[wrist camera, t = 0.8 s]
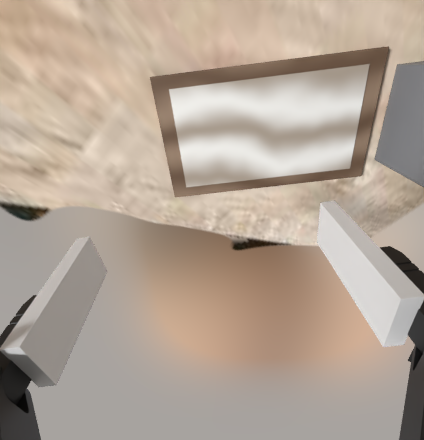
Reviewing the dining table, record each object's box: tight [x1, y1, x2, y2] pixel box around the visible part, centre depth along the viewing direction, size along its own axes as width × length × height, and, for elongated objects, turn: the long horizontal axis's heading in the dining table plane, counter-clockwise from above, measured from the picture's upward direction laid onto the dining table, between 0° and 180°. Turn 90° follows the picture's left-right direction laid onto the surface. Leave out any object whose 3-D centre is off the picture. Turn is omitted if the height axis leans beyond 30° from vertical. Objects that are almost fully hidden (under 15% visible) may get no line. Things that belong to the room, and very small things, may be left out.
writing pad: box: [150, 47, 389, 197], centre depth 34 cm, size 16×28×1 cm, turn 96°
